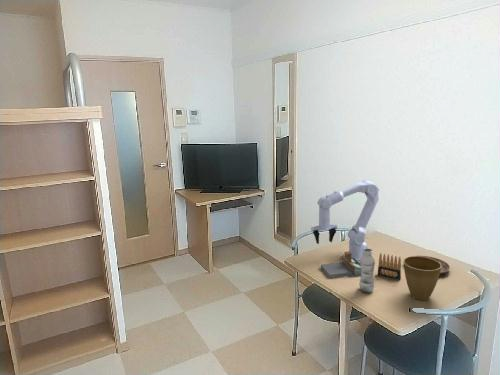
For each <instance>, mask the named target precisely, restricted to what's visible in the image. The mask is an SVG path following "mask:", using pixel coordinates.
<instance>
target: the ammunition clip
mask: <svg viewBox="0 0 500 375" xmlns="http://www.w3.org/2000/svg"><path fill="white" fill-rule="evenodd" d="M382 255H383V256H382ZM378 258H379V259H378V265H377V266H378V267H377V274H376V275H377V276H378V277H382V278H388V279H392V280H396V281H401V280H402V259H401V256H399V257H397V255H395V256H393V255H391V257H390V254H387V257H386V254H385V253H384V254H382V252H380V253H379V257H378Z"/></svg>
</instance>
